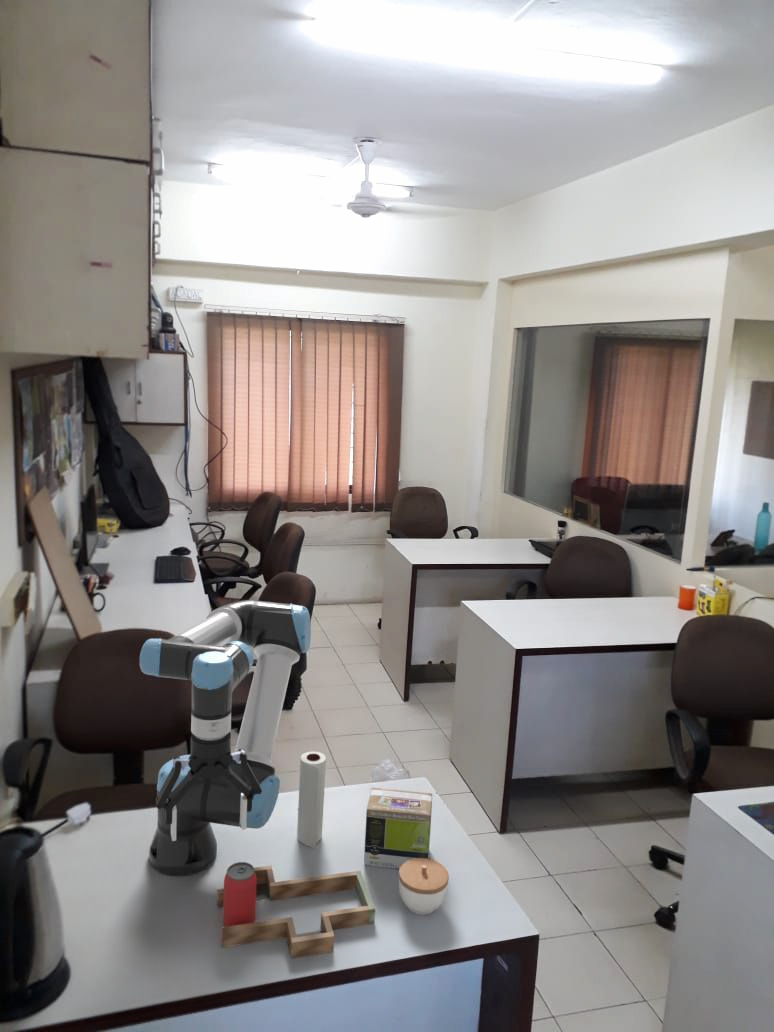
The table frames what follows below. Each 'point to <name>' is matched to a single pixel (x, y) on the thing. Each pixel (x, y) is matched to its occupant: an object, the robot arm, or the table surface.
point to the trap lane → (285, 926)
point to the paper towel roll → (311, 797)
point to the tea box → (397, 827)
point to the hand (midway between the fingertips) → (208, 831)
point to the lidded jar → (422, 885)
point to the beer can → (239, 895)
